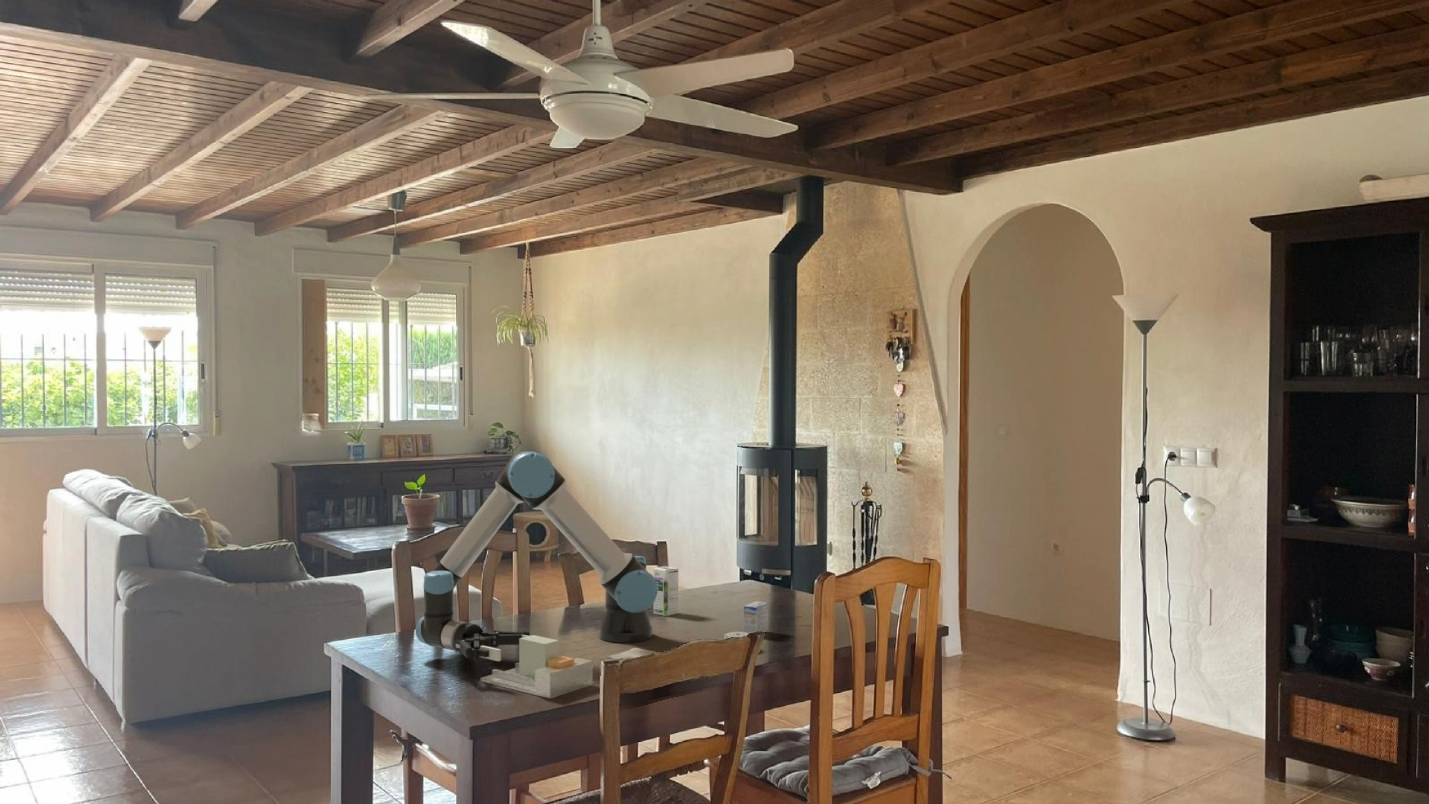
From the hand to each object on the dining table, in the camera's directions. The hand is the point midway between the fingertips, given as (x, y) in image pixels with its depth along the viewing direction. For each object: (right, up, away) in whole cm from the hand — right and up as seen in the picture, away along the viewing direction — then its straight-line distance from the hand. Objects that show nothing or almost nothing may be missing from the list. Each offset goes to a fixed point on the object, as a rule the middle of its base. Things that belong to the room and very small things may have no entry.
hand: (521, 649), depth 258 cm
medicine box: (+59, -7, +47) cm, 76 cm away
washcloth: (+29, -8, +14) cm, 34 cm away
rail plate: (+4, -7, -3) cm, 9 cm away
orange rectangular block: (+11, -6, -8) cm, 15 cm away
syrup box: (+32, -6, +74) cm, 81 cm away
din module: (+5, -7, -4) cm, 9 cm away
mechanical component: (+54, -7, +29) cm, 62 cm away
